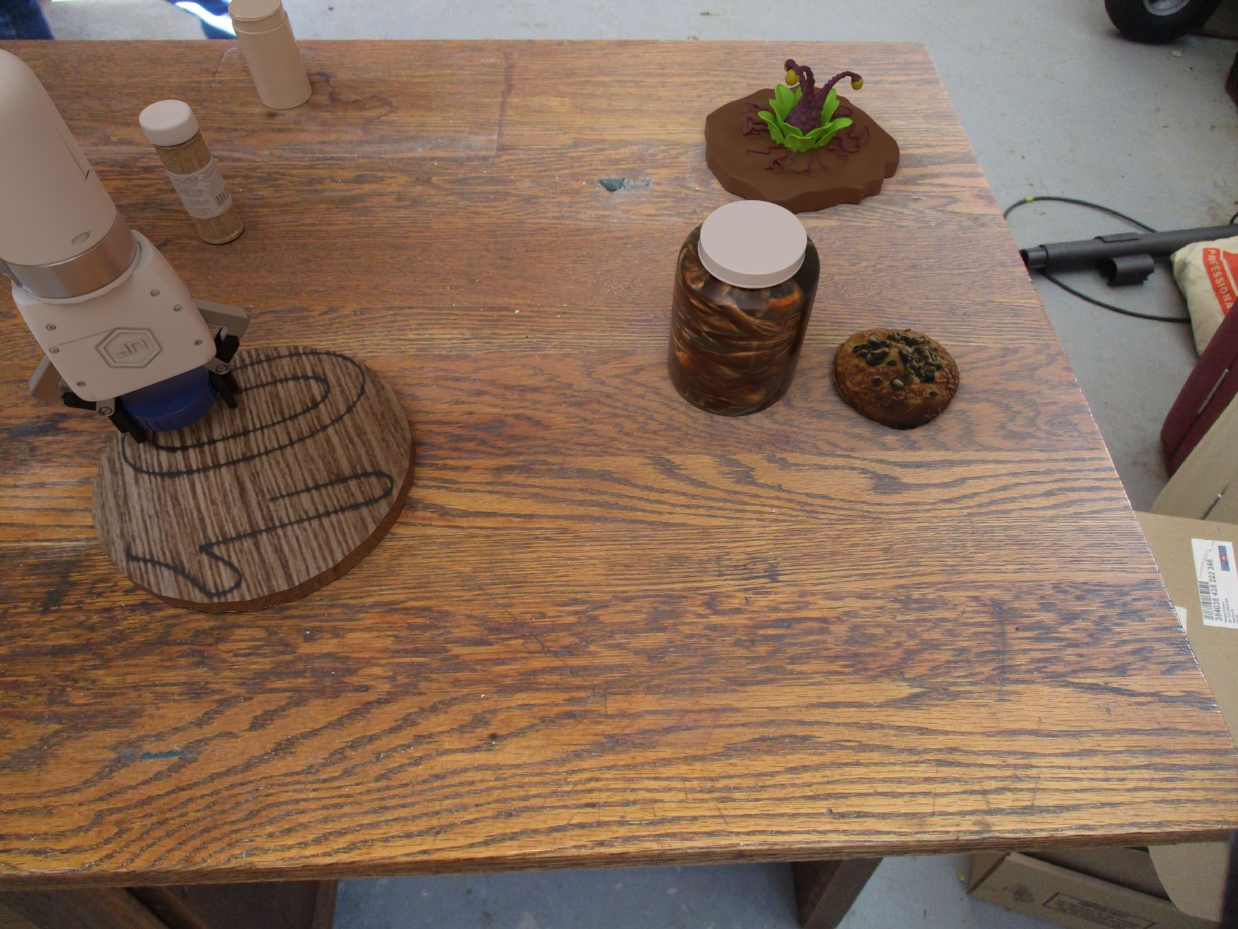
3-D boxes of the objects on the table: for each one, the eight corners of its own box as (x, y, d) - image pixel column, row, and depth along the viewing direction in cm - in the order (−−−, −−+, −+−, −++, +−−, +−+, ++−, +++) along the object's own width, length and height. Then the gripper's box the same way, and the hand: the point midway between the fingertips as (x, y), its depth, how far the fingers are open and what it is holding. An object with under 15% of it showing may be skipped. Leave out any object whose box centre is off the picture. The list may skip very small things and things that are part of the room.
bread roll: (877, 448, 70) (890, 405, 66) (803, 369, 77) (812, 326, 73) (981, 408, 73) (999, 364, 69) (901, 336, 80) (914, 293, 76)
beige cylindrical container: (250, 95, 99) (214, 4, 90) (291, 74, 101) (261, -17, 92) (280, 115, 96) (247, 24, 88) (322, 93, 99) (294, 2, 90)
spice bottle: (220, 211, 87) (162, 92, 76) (254, 225, 86) (201, 105, 75) (189, 238, 85) (125, 118, 73) (224, 252, 84) (164, 132, 72)
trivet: (458, 534, 66) (454, 522, 64) (126, 669, 59) (113, 659, 58) (367, 325, 78) (361, 310, 76) (85, 417, 72) (73, 404, 70)
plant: (672, 132, 95) (678, 35, 86) (814, 88, 100) (834, -8, 91) (767, 238, 85) (786, 142, 76) (919, 183, 90) (954, 86, 81)
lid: (236, 378, 69) (227, 364, 67) (183, 442, 65) (173, 429, 64) (166, 355, 70) (156, 340, 69) (110, 417, 66) (99, 403, 65)
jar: (811, 407, 73) (852, 281, 60) (681, 424, 72) (695, 299, 59) (775, 311, 79) (805, 178, 67) (655, 325, 78) (663, 193, 66)
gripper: (-71, 332, 50) (84, 489, 65) (218, 239, 55) (301, 405, 70) (-81, 256, 54) (68, 421, 69) (191, 176, 59) (275, 346, 74)
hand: (184, 412), depth 69 cm, fingers closed on lid, 6 cm apart
